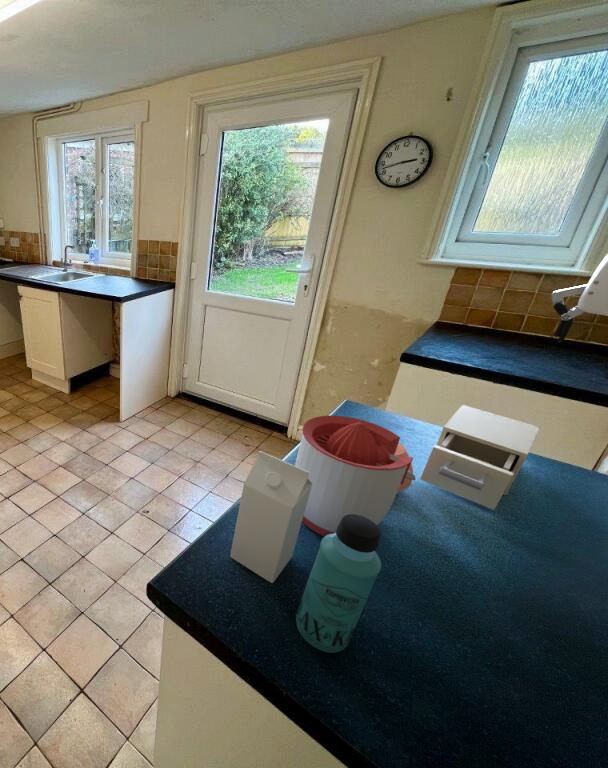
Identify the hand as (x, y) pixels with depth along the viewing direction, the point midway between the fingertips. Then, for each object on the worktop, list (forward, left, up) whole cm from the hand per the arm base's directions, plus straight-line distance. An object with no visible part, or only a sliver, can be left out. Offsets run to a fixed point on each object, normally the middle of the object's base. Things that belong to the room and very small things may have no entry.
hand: (599, 348), depth 72 cm
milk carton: (+24, +60, -28) cm, 71 cm away
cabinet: (+8, +3, -28) cm, 30 cm away
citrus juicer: (+20, +42, -28) cm, 55 cm away
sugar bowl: (+21, +25, -28) cm, 43 cm away
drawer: (+8, +15, -27) cm, 32 cm away
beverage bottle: (+12, +66, -28) cm, 73 cm away
